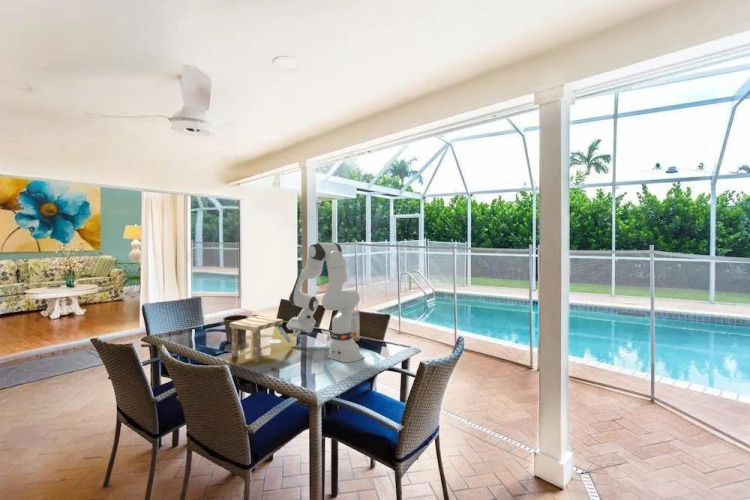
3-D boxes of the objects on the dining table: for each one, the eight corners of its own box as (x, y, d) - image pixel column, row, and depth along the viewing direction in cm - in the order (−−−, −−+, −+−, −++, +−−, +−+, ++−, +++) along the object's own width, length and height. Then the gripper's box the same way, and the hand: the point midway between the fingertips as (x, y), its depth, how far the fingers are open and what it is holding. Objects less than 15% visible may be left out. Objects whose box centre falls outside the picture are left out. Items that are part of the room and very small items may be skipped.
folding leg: (289, 340, 244) (276, 323, 234) (292, 340, 243) (279, 323, 232) (287, 343, 242) (274, 326, 232) (290, 343, 241) (277, 326, 231)
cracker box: (359, 339, 263) (359, 309, 262) (358, 341, 257) (358, 311, 256) (340, 338, 264) (339, 309, 263) (338, 341, 258) (338, 310, 257)
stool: (258, 346, 245) (257, 315, 244) (283, 352, 234) (282, 319, 233) (230, 356, 226) (229, 322, 225) (256, 362, 215) (255, 327, 214)
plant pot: (240, 344, 250) (239, 320, 250) (218, 343, 254) (218, 319, 253) (252, 338, 266) (252, 315, 266) (232, 336, 269) (231, 314, 269)
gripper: (290, 313, 257) (280, 331, 249) (313, 317, 247) (304, 335, 239) (294, 318, 261) (285, 336, 253) (318, 322, 251) (308, 340, 243)
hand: (294, 335), depth 246 cm, fingers closed
